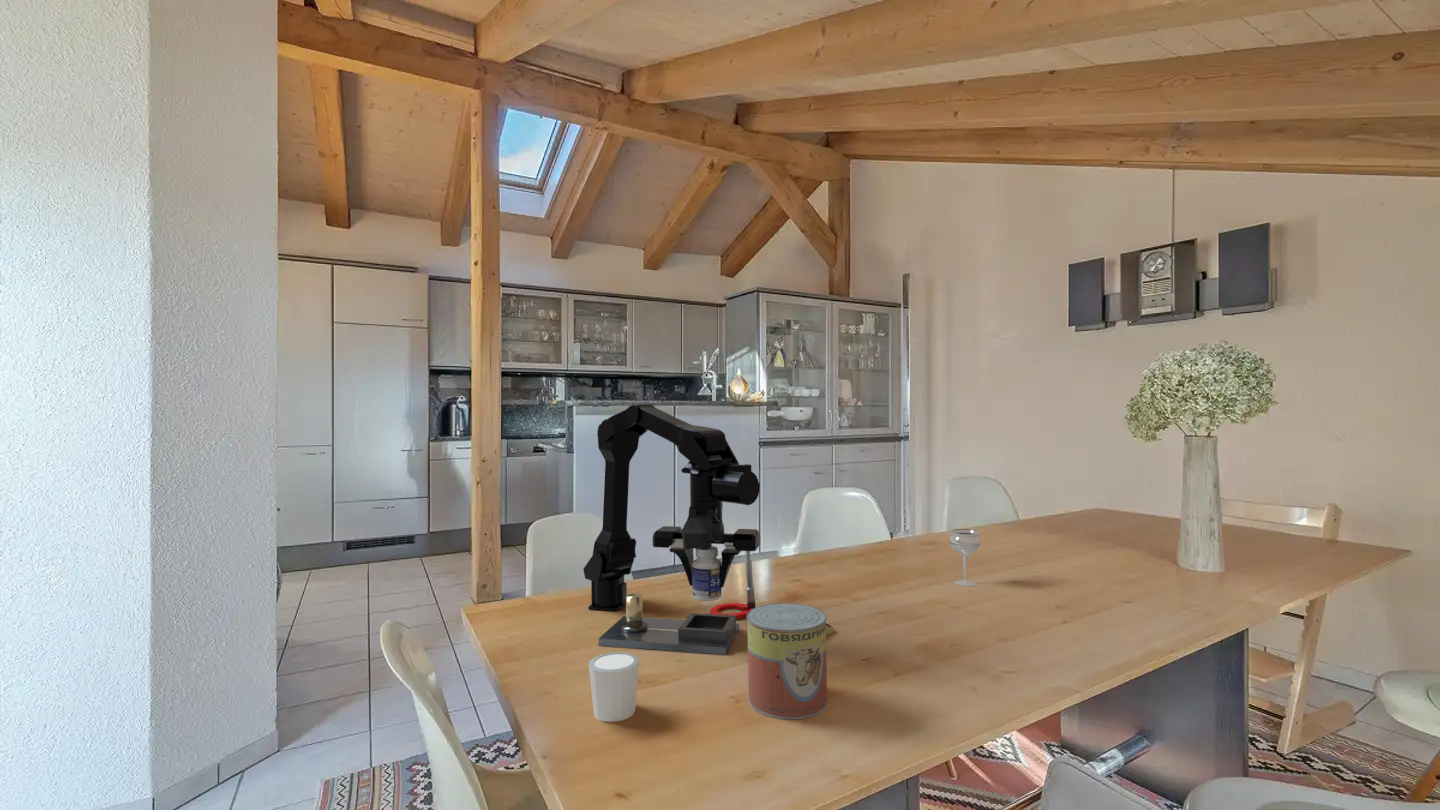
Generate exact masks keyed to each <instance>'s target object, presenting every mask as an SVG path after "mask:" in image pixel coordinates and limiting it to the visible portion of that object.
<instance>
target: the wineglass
mask: <svg viewBox="0 0 1440 810" xmlns="http://www.w3.org/2000/svg"><path fill="white" fill-rule="evenodd" d="M949 533H950V536H949V544H950V547H951V548H952V549H953V550H954V551H955V552H957V553H959V554H960V555H961V557H962V558H963V559H962V560H963V561H962V562H963V577H964V579H962V580H961V579H959V580H956V581H953V584H955V585H957V586H961V587H976V586H977V584H978V583H976V582H974V581H971V580H967V569H968V568H967V565H968V564H967V562H968V561H967V560H968V558H967V557H969V556H970V555H971V554H973V553H975V552H976V551H977V550H978V549H979V548H980V546H981V538H980V534H981V532H980V531H979V530H976V529H968V528H953V529H950V530H949Z"/></svg>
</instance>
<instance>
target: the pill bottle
mask: <svg viewBox="0 0 1440 810" xmlns="http://www.w3.org/2000/svg"><path fill="white" fill-rule="evenodd" d="M718 550H719V549H718V547H717V546H714V545H712V546H711V548H710V549H708V550H701V549H695V557H696V558H694V561H693V563H692V586H691V590H692V591H691V593H692V594H691V595H692V596H691V597H692V598H693V600H696V601H699V602H714V601H718V600H720V599H721V598H722V596H723V595H722V590H723V588H721V585H720V577H721V566H722V561H721V560H720V559H718V556H719V551H718Z"/></svg>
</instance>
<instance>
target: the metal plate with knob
mask: <svg viewBox="0 0 1440 810" xmlns="http://www.w3.org/2000/svg"><path fill="white" fill-rule="evenodd" d="M643 616H644V615H643V594H642V593H635V592H634V593H627V595H626V603H625V616H624V615H623V616H622V617H621V618H620V619H619V620H617V621H616V623H614V624H613V625H612V626H611V627H610V628H608V629H607V630H606V631H605V632H604V633H603V634H602V635H601V636H600V637H598V646H602V647H603V646H604V647H616V648H625V649H626V648H627V649H628V648H631V649H641V650H653V651H654V650H655V651H656V650H657V651H669V652H681V653H695V654H696V653H697V654H708V655H709V654H710V655H721V656H723V655H724V656H726V655H727V653H728V651H729V649H730V648H731V646H732V644H733V642H734V640H735V639H736V637H737V635H738V633H739V631H740V623H738V622H737V619H736V616H733V615H717V614H710V613H696V612H691V613H690V614H689V615H688V616H687V617H686V619H676V618H675V619H674V618H658V617H657V618H656V617H643Z"/></svg>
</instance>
